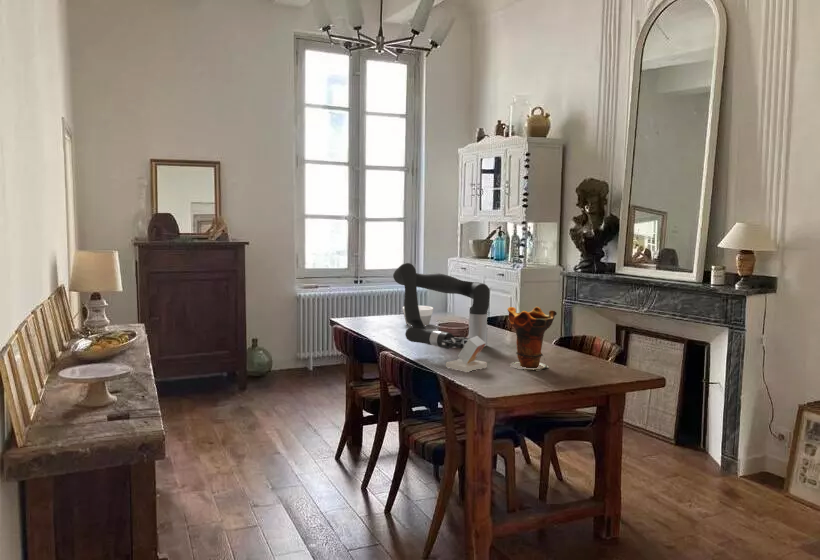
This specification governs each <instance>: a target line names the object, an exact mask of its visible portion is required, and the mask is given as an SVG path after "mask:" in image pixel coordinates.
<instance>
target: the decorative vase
mask: <svg viewBox="0 0 820 560" xmlns="http://www.w3.org/2000/svg"><path fill="white" fill-rule="evenodd" d="M507 312H508V319H509V323H510V324H511V325H512V327H513V329H514V330H515V332H516V333H515V336H516V341H515V342H516V356H517V359H518V361H514V362H515V363H514V362H512V363H513V364H516V363H520V366H522V367H526V368H537V367H538V366H539V365H541V366H543V367H542V368H540V369H534V370H536V371H541V370H544V369H548V368H549V366H548V365H547V364H545V363H546V362H545V361H546V360H545V358H543V360H544V362H545V363H542V362H541V358H542V357H544V355H543V353H542V349H543V343H544V336H545V332H546V331H547V330H548V329H549V328H550V327H551V326H552V325H553V321H554V319H555V316H556V315H557V313H558V312H557V311H556V310H553V309H552V310H549V311H548V314H545V313H544V311H543V310H542V309H541V307H539V306H535V307H533V309H531V311H526V310H522V311H521V312H517V308H516V307H514V306H509V307H508V308H507ZM513 364H512V365H513ZM546 365H547V366H546ZM517 368H518V367H517ZM527 370H533V369H524V370H523V371H527Z"/></svg>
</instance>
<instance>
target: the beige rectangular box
mask: <svg viewBox="0 0 820 560" xmlns="http://www.w3.org/2000/svg"><path fill="white" fill-rule="evenodd" d="M445 365H446V366H445V368H446V367H450V368H453V369H458V370H462V371H466V372H468V371H472V370H476V369H480V370H483V369H482V368H484V369H486V367H487V365H488V363H487V361H484V360H483V361H482V360H477V359H475V360H474V361H472V362H470V363H468V364H466V363H465V362H463V361H462V360H461V359H460V358H458V359H454V360H451V361H446V364H445ZM487 368H488V367H487ZM453 369H452V370H453ZM476 371H477V370H476ZM466 372H465V373H466ZM472 372H473V371H472ZM468 373H469V372H468Z"/></svg>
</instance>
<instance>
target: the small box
mask: <svg viewBox="0 0 820 560" xmlns="http://www.w3.org/2000/svg"><path fill="white" fill-rule="evenodd" d="M485 344H486V343H485V342H484V341H483V340H482V339H480V338H479V337H478V336H475V337H473V338H470V339H468V341H467V342H466V344H465V345H464V346H463V348H461V350H460V351H459V353H458V355H457V357H458V359H461V360H462V361H463V362H465V363H466V364H468V363H470V362H472V361H474V360H477V357H478V356H479V355H480V353H481V352H482V351H483V349H484V348H485V347H486V346H485ZM484 346H485V347H484Z"/></svg>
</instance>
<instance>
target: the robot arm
mask: <svg viewBox="0 0 820 560" xmlns="http://www.w3.org/2000/svg"><path fill="white" fill-rule="evenodd" d="M392 278H393V280H394V281H395V282H396V283H397V284H398V285H401V286H404V302H403V303H404V304H403V307H404V310H405V316H406V321H407V323H409V324H411V325H412V326H409V327H408V328H407V329H406V331H405V334H404V335H405V338H406V339H407V340H408V341H409V342H412V343H419V344H425V345H429V346H433V347H436V348H441V349H446V350H449V349H452V348H454V349H455V348H457V349H463V347H464V345H465V344H466V342H467V341H468V339H470V338H473V337H475V336H478V337H479V338H480V339H482V340H483V341H484V342H485V343H486V344H485V346H484V347H483V348H485V347H486V346H488V334H489V333H488V321H487V320H488V310H489V307H490V296H491V295H490V293H491V292H490V288H489V286H488V285H487V284H485V283H482V282H477V281H468V280H467V281H466V280H461V279H459V278H457V277H454V276H451V275H448V274H443V273H439V272H433V273H432V272H431V273H417V270H416V268H415V265H413V264H412V263H411V262H404V263H402V264H401V265H400V266H398V267H397V268H396V269H395V270H394V272H393V277H392ZM417 288H421V289H425V290H429V291H434V292H437V293H444V294H448V295H449V294H452V295H453V294H456V295H461V296H464V297H467V298H470V299H472V305H471V306H470V307H469V317H468V321H469V322H468V337H463V336H458V337H457V336H454V334H453V333H451V332H448V331H441V330H433V329H426V326H424V325H423V322H422V320H421V318H420V313H419V307H418V305H419V302H418V295H417V294H418V292H417V291H418V289H417ZM406 321H405V322H406Z"/></svg>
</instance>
